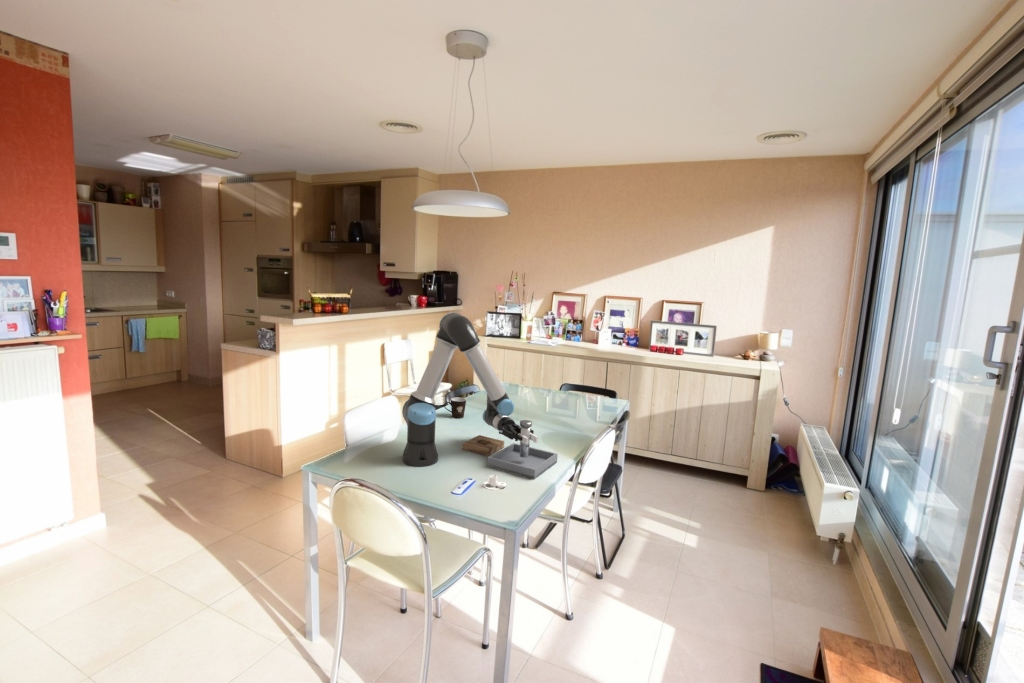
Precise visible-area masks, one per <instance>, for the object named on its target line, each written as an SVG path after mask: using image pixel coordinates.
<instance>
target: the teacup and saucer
mask: <svg viewBox="0 0 1024 683" xmlns="http://www.w3.org/2000/svg"><path fill="white" fill-rule="evenodd" d="M498 478H499V477H498V475H497V474H490V475H487V476H486V480H487V481H484V482H483V483H482V486H483V488H485V489H487V490H491V491H493V490H496V491H497V490H500V489H503V488H505V487H506V486H507V483H506V482H504V481H498ZM487 484H489V486H490V487H488V486H487ZM491 487H495V488H491Z"/></svg>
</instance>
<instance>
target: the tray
mask: <svg viewBox="0 0 1024 683" xmlns="http://www.w3.org/2000/svg"><path fill="white" fill-rule="evenodd" d="M487 457H488V458H487V468H488V467H489V468H492V469H495V470H498V471H503V472H506V473H510V474H513V475H516V474H517V476H521V477H524V476H525V478H527V477H528V479H531V480H536V479H537V478H539V477H540V476H541V475H542V474H544V473H545V472H547V471H548V470H549V469H551V468H552V467H553V466H554V465H556V464H557V463H558V453H555V452H551V451H547V450H543V449H539V448H535V447H532V446H529V457H526V458H524V457H520V444H519V443H515V442H513V443H512V444H509V445H508V446H506V447H504V448H502V449H500V450H499V451H497V452H495V453H493V454H491V455H490V456H487Z"/></svg>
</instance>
